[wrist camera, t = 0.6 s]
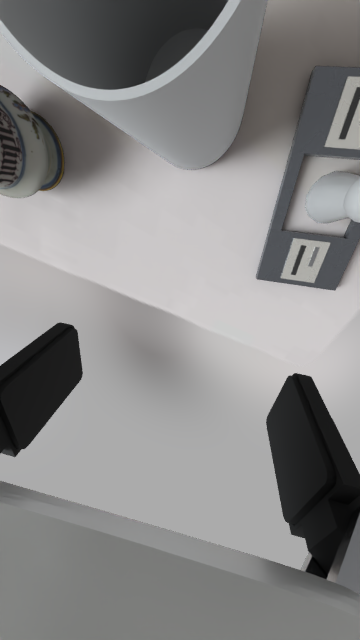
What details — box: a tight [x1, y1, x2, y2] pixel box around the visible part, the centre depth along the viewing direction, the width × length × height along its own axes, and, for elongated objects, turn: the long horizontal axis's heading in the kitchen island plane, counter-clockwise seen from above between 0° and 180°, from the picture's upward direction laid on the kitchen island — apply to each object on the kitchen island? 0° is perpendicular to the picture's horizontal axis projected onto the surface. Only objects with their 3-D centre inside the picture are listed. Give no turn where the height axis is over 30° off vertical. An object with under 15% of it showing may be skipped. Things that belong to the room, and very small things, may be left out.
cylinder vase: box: [0, 0, 268, 170], centre depth 17 cm, size 12×12×25 cm
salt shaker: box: [305, 171, 360, 223], centre depth 24 cm, size 6×6×13 cm
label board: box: [256, 66, 360, 290], centre depth 29 cm, size 24×12×2 cm, turn 175°
